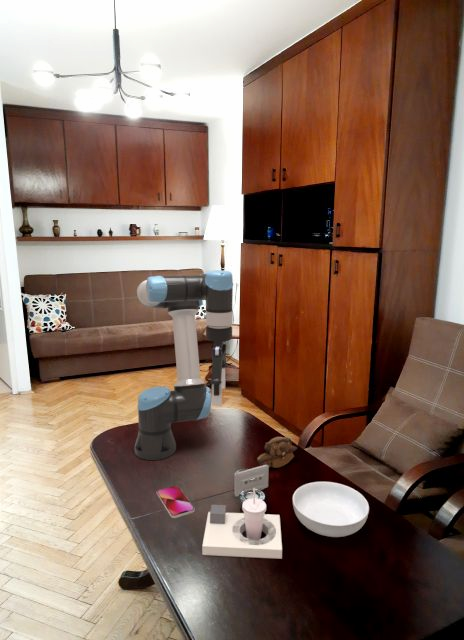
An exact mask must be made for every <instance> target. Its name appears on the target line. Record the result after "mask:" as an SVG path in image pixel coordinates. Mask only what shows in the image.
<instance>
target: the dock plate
mask: <svg viewBox="0 0 464 640" xmlns="http://www.w3.org/2000/svg"><path fill="white" fill-rule="evenodd" d="M226 507H227V505H225V504H211V505H210V511H208V513H207V518H206V523H205V529H204V534H203V541H202V547H201V548H202V551H201V552H202V553H201V555H202V556H218V557H219V556H220V557H237V558H238V557H239V558H240V557H241V558H260V559H281V560H282V559H283V543H282V530H281V517H280V514H269V513H267V514H266V513H265V514H264V520H263V526H262V532H263V533H264V534H265V536H264V537H262V538H260V539H259V540H250V539H248V538H247V537H245V536H244V535H243V533H244V532H246V527H245V518H244V512H227V508H226Z"/></svg>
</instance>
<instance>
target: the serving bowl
mask: <svg viewBox="0 0 464 640" xmlns="http://www.w3.org/2000/svg"><path fill="white" fill-rule="evenodd" d="M292 506H293V510H294V514H295V516H296V517H297V519H298V521H299V522H300V523H301V524H302V525H303V526H305V528H307V529H308V530H310V531H312V532H314V533H315V534H318V535H321V536H324V537H325V536H326V537H331V538H340V537H347V536H350V535H353V534H355V533H357V532H358V531H359V530H360V529H362V527H363V526H364V525H365V523H366V522H367V519H368V515H369V513H370V506H369V502H368V500H367V499H366V498H365V496H364V495H363V494H362V493H360V492H359V491H358V490H355V488H352V487H350V486H348V485H345V484H342V483H338V482H333V481H314V482H313V481H312V482H309V483H305V484H303V485H301V486H299V487H298V488H297V489H296V490H295V491H294V493H293V494H292Z"/></svg>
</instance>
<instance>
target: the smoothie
mask: <svg viewBox="0 0 464 640" xmlns="http://www.w3.org/2000/svg"><path fill="white" fill-rule="evenodd" d="M241 509H242V511H243V513H244V518H245V527H246V531H245V534H246V538H248V539H250V540H259V539H262V538H261V537H262V532H263V531H262V526H263V520H264V514H266V513H265V512H266V511H267V504H266V502H265V501H264V500H262V499H260V498H257V497H256V492H255V488H253V493H252V498H247V499H245V500H243V502H242V506H241Z"/></svg>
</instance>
